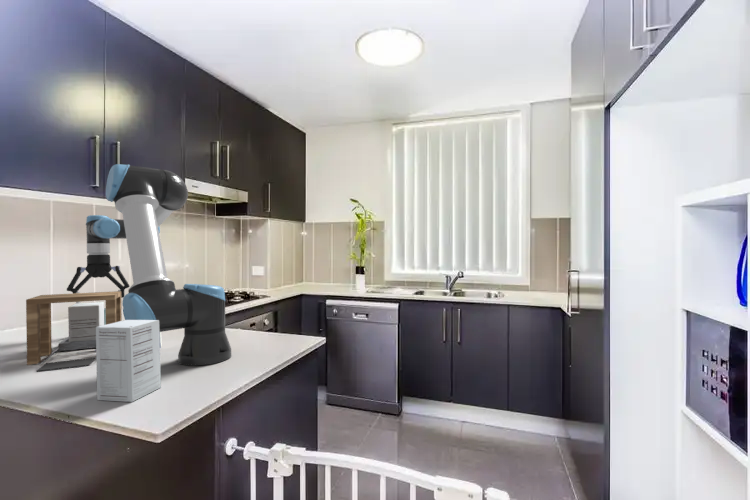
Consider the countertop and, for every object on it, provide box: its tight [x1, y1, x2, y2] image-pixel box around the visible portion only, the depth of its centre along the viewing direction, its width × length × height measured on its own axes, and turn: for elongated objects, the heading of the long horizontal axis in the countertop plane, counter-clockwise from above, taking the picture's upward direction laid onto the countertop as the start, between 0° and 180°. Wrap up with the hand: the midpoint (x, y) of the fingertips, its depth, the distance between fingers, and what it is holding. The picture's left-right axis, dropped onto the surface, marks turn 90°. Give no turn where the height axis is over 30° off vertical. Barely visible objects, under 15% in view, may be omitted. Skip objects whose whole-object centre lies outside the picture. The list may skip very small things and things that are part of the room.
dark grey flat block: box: [36, 357, 96, 373], centre depth 112 cm, size 8×12×1 cm, turn 116°
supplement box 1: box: [67, 301, 105, 350], centre depth 134 cm, size 9×9×15 cm
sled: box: [57, 307, 106, 352], centre depth 141 cm, size 26×14×10 cm, turn 26°
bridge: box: [25, 290, 123, 366], centre depth 123 cm, size 12×22×20 cm, turn 116°
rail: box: [37, 347, 59, 365], centre depth 129 cm, size 28×16×1 cm, turn 26°
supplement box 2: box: [95, 319, 162, 403], centre depth 89 cm, size 10×9×17 cm
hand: (99, 307), depth 151 cm, fingers open, 13 cm apart
